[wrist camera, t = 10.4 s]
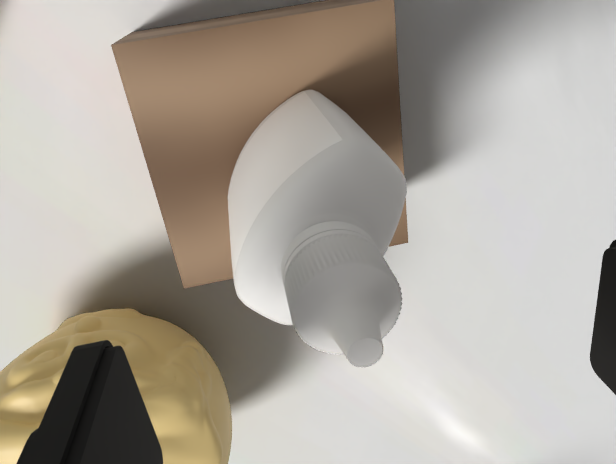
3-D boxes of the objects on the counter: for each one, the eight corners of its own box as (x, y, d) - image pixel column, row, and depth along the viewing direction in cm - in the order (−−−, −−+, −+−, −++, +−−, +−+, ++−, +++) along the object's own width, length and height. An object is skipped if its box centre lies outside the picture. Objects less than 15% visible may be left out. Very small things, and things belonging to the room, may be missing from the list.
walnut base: (376, 199, 27) (408, 242, 23) (189, 237, 27) (184, 288, 22) (359, -6, 23) (393, -2, 18) (132, 32, 22) (111, 45, 18)
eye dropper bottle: (195, 139, 19) (171, 332, 9) (330, 74, 19) (474, 191, 9) (247, 232, 21) (279, 480, 11) (370, 173, 21) (527, 369, 11)
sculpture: (210, 260, 27) (208, 410, 18) (242, 423, 33) (253, 605, 23) (-16, 294, 26) (-149, 475, 17) (56, 458, 32) (-13, 665, 22)
